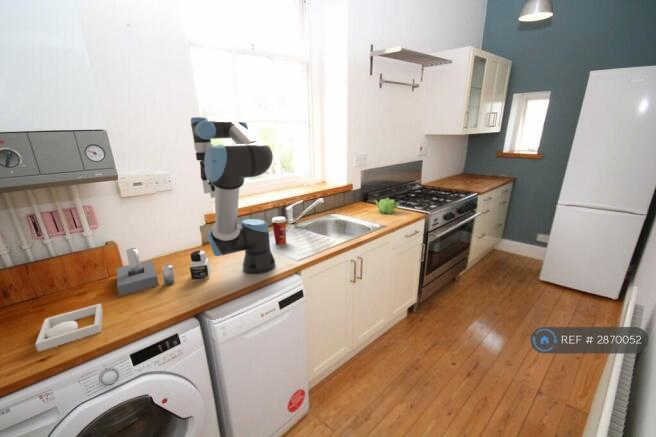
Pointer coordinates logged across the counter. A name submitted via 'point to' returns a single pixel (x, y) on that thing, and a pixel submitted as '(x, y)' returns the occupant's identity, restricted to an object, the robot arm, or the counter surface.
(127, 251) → the tall steel pin
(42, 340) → the grey rectangular frame
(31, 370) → the counter surface
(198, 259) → the medicine bottle
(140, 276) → the bored block
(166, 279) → the silver upright block
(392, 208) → the kettle
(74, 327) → the white rounded block
